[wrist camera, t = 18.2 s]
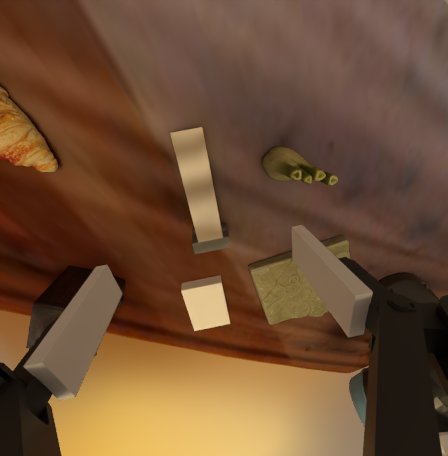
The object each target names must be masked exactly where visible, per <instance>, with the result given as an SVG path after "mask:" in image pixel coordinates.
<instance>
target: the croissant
mask: <svg viewBox="0 0 448 456" xmlns="http://www.w3.org/2000/svg"><path fill="white" fill-rule="evenodd" d="M0 159H2V160H5V161H7V162H9V163H11V164H13V165H19V166H21V165H23V166H27V167H29V166H33V167H34V168H36V169H37V170H39V171H41V172H55V170H57V169H58V163H57V160H56V159H55V158H54V155H53V153H51V151H50V149H49V147H48V146H47V144H46V141H45V139H44V138H43V137H42V135H41V134H40V132H38V131H37V129H36V128H35V126H34V125H33V124H32V122H31V121H30V120H29V118H28V117H27V115H26V114H24V113H23V112H22V111H21V110H20V109H19V108H18V106H17V105H16V104H15V103H14V102H12V101H11V100H10V99H9V98H8V93H7V92H6V91H5V90H4V89H3V88H2V87H0Z"/></svg>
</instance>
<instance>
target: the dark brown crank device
mask: <svg viewBox="0 0 448 456" xmlns="http://www.w3.org/2000/svg"><path fill="white" fill-rule="evenodd" d="M92 272H93V271H92V270H89V269H84V268H78V267H72V266H69V267H68V268H67V269H66V270H65V271H64V272H63V273H62V274H61V275H60V276H59V277H58V278H57V279H56V280H55V281H54V282H53V283H52V284H51V285H50V286H49V287H48V288H47V289H46V290H45V292H44V293H43V294H42V295H41V296H40V297H39V298H38V299H37V300H36V301H35V302H34V304H33V307H32V315H31V321H30V327H29V335H28V341H27V347H26V348H31V347H32V345H34V343H35V341H36V340H37V339H38V338H39V337H40V335H41V334H42V332H43V331H44V330H45V328H46V327H47V326H48V325H49V324H50V323H51V322H52V321H54V320H55V319H56V318H58V317H60V315H61V314H62V313H63V311H64V310H65V309H66V307H67V306H68V305H69V303H70V302H71V300H72V299H73V298H74V296H75V295H76V294H77V292H78V291H79V289H80V288H81V287H82V285H83V284H84V283H85V281H86V280H87V278H88V277H89V276H90V274H91V273H92ZM113 277H114V276H113ZM114 279H115V280H116V282H117V284H118V286H119V288H120V290H121V292H122V294H123V291H124V286H125V281H123V280H121V279H119V278H116V277H114ZM122 301H123V298H122V296H121V298H120V301H119V303H118V305H117V307H116V309H115V312H116V310H117V308H118V307H120V306H121V304H122ZM115 312H114V314H115ZM114 314H113V316H114ZM113 316H112V317H113ZM111 319H112V318H111ZM110 321H111V320H110ZM109 324H110V323H109ZM108 326H109V325H108ZM107 328H108V327H107ZM106 330H107V329H106ZM105 332H106V331H105ZM102 339H103V338H102ZM101 341H102V340H101ZM100 343H101V342H100ZM98 348H99V347H98ZM97 350H98V349H97ZM96 354H97V351H96V353H95V355H96Z"/></svg>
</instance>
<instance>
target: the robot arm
mask: <svg viewBox="0 0 448 456" xmlns="http://www.w3.org/2000/svg"><path fill="white" fill-rule="evenodd" d="M292 259H293V260H294V262H295V263H296V264H297V266H298V267H299V269H300V270H301V271H302V273H303V274H304V276H305V277H306V278H307V280H308V281H309V283H310V284H311V286H312V287H313V288H314V290H315V291H316V293H317V294H318V295H319V297H320V298H321V300H322V301H323V303H324V304H325V305H326V307H327V308H328V310H329V311H330V312H331V314H332V315H333V317H334V318H335V319H336V321H337V322H338V324H339V325H340V327H341V328H342V329H343V331H344V332H345V334H346V335H347V336H348V338H349V337H354V336H358V335H363V334H364V331H365V326H366V327H367V328H368V329H369V331H370V332H371V333H372V335H371V339H370V343H369V348H370V357H369V367H368V368H364V369H363V370H362V371H361V372H360V373H358V374H357V375H355V376H354V377H353V378H351V380H350V383H349V390H350V394H351V398H352V401H353V404H354V406H355V408H356V411H357V413H358V415H359V417H360V419H361V421H362V423H363V425H364V427H365V432H364V447H363V456H448V295H446V296H443V297H441V299H440V300H439V299H438V298H437V297H436V295H435V294H434V293H433V292H432V291H431V290H430V288H429V286H428V285H427V284H426V283H425V282H424V281H423V280H421V279H420V278H418V277H417V276H415V275H413V274H410V273H399V274H394V275H391V276H389V277H386V278H384V279H382V280H381V281H379V282H378V281H377V280H376V279H375V278H374V277H373V276H371V275H370V274H368V272H367V271H366V270H365V269H362V267H361V266H360V265H359V264H358V263H356V262H355V261H353V260H351V259H349V258H347V257H343V258H337V257H336V256H335V255H333V254H332V253H331V252H330V251H329V250H328V249H327V248H326V247H325V246H324V245H323V244H322V243H321V242H320V241H319V240H318V239H317V238H316V237H315V236H314V235H312V234H311V233H310V232H309V231H308V230H307V229H306V228H305V227H304V226H303V225H299V226H294V227H292ZM121 296H122V292H121V290H120V288H119V286H118V284H117V282H116V280H115V279H114V277H113V275H112V273H111V271H110V269H109V267H108V265H102V266H97V267H96V268H95V269H94V270H93V272H92V273H91V274H90V276H89V277H88V278H87V280H86V281H85V283H84V284H83V285H82V287H81V288H80V289H79V291H78V292H77V294H76V295H75V296H74V298H73V299H72V300H71V302H70V303H69V305H68V306H67V307H66V309H65V310H64V311H63V313H62V314H61V315H60V317H58V318H56V319H55V320H54V321H52V322H51V323H50V324H49V325H48V326H47V327H46V328H45V330H44V331H43V332H42V334H41V335H40V337H39V338H38V339H37V340H36V341H35V343H34V345H32V347H31V348H30V349H29V351H28V352H27V354H26V355H25V356H24V357H23V359H22V360H21V362H20V363H19V364H18V365H17V367H16V368H15V369H14V371H11V370H10V369H9V368H8V367H7V366H6V365H5V364H4V363H0V456H61V452H60V447H59V442H58V438H57V432H56V427H55V423H54V418H53V413H52V408H51V406H50V404H49V403H48V401H49V399H50V397H51V395H52V394H53V395H54V396H55V397H56V398H57V399H58V400H63V399H68V398H73V397H76V395H77V393H78V391H79V388H80V386H81V384H82V382H83V380H84V378H85V375H86V373H87V371H88V369H89V366H90V364H91V362H92V360H93V358H94V356H95V353H96V351H97V349H98V347H99V345H100V342H101V340H102V338H103V336H104V334H105V331H106V329H107V327H108V325H109V323H110V320H111V318H112V316H113V314H114V312H115V309H116V307H117V305H118V303H119V301H120V298H121Z"/></svg>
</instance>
